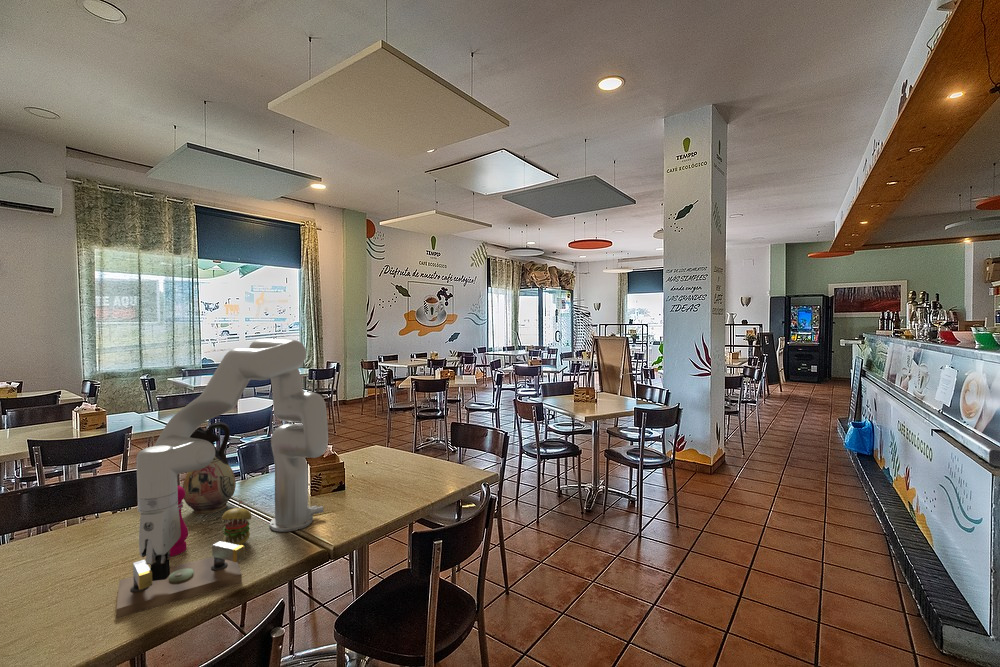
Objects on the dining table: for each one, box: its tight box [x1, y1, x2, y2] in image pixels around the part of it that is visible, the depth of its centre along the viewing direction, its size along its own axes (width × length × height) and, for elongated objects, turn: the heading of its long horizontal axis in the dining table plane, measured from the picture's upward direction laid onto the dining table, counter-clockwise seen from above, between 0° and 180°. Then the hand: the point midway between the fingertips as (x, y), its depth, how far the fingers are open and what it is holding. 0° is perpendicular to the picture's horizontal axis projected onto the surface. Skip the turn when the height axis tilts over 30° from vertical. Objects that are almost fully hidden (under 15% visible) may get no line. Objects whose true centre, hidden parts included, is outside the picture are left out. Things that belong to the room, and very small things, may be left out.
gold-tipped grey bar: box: [211, 540, 245, 567], centre depth 119 cm, size 8×2×6 cm, turn 71°
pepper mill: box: [169, 485, 189, 558], centre depth 131 cm, size 7×7×20 cm
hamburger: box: [221, 499, 252, 546], centre depth 136 cm, size 8×7×12 cm
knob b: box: [132, 558, 152, 590], centre depth 108 cm, size 8×2×6 cm, turn 46°
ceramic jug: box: [182, 421, 237, 516], centre depth 160 cm, size 17×15×30 cm
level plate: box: [116, 556, 243, 619], centre depth 115 cm, size 24×14×3 cm, turn 127°
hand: (160, 578), depth 110 cm, fingers closed
